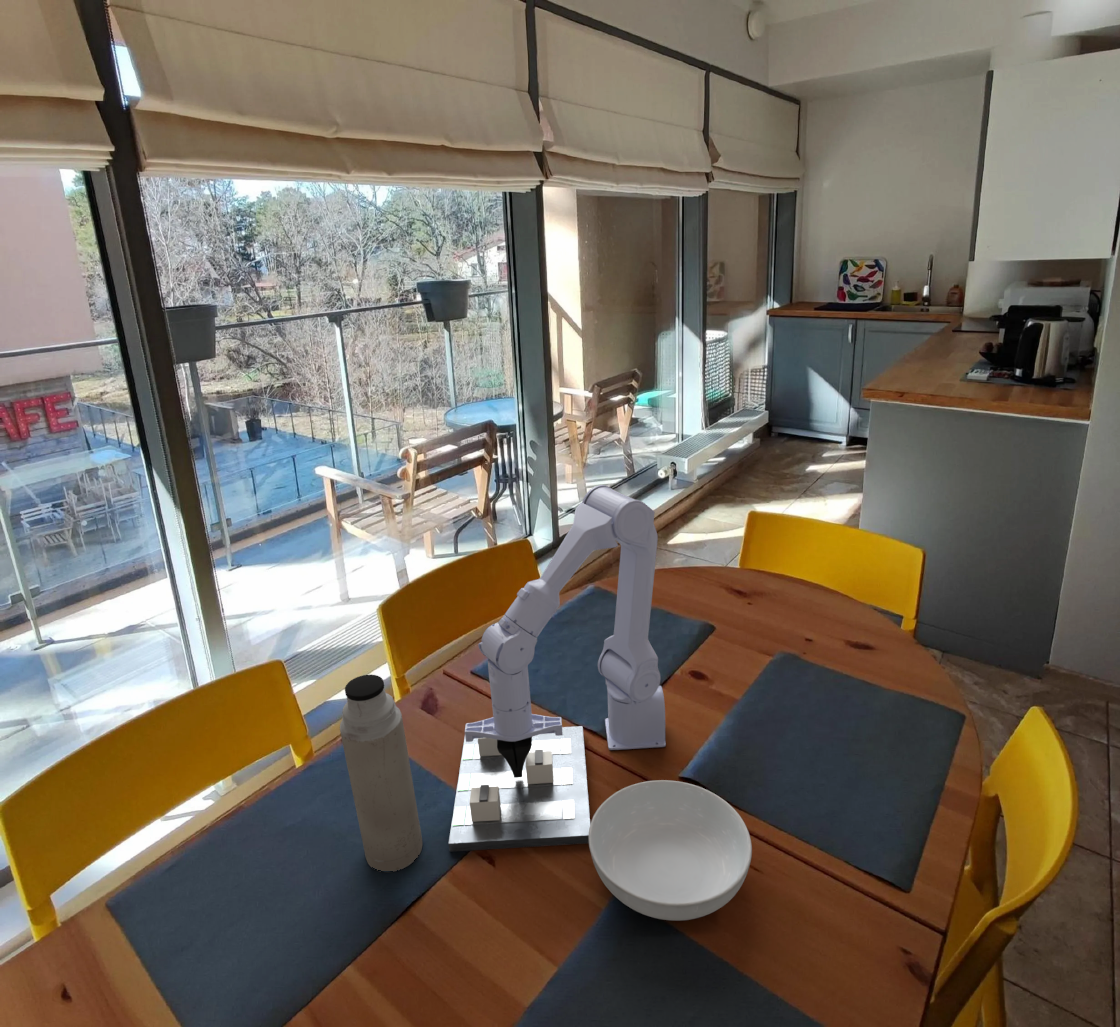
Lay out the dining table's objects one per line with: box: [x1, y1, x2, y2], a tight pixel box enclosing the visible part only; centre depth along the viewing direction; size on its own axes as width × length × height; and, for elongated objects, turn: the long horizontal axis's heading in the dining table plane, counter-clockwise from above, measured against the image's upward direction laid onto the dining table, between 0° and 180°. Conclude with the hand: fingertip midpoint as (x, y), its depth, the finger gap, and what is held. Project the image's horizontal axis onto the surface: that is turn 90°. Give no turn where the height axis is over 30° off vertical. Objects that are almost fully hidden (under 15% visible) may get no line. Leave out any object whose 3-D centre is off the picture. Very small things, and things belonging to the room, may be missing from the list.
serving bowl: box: [588, 779, 753, 922], centre depth 98 cm, size 21×21×7 cm
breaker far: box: [478, 738, 501, 756], centre depth 121 cm, size 4×3×4 cm
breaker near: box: [470, 785, 501, 822], centre depth 108 cm, size 4×3×4 cm
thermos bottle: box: [339, 674, 423, 872], centre depth 100 cm, size 8×8×28 cm
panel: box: [448, 725, 591, 852], centre depth 115 cm, size 20×24×2 cm
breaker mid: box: [526, 749, 553, 784], centre depth 114 cm, size 4×3×4 cm
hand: (518, 773), depth 115 cm, fingers closed
